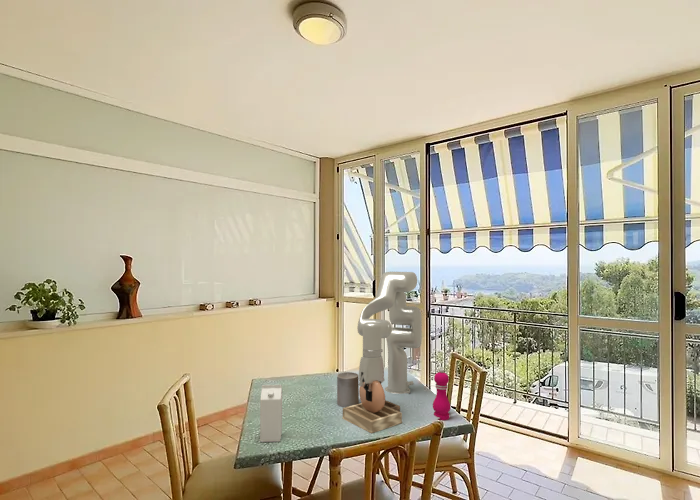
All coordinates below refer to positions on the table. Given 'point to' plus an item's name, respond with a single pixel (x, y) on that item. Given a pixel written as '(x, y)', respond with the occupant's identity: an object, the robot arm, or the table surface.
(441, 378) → the pepper mill
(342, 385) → the pillar candle
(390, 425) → the rack
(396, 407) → the narrow wooden tray
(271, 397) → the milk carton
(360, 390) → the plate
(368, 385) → the robot arm
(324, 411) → the table surface
